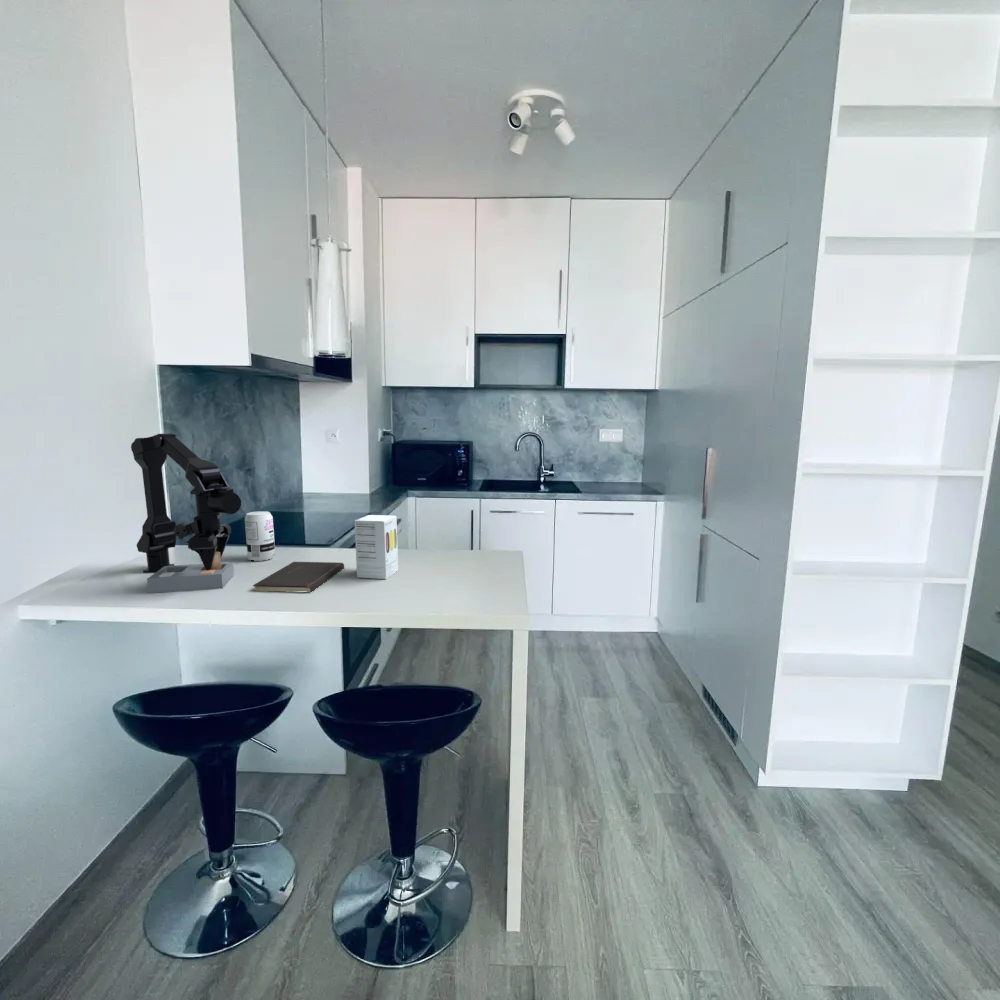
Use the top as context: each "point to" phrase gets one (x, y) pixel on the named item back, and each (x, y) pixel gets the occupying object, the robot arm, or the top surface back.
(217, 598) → the top surface
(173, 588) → the socket block
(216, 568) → the walnut peg
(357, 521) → the supplement box
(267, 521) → the supplement can
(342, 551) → the top surface
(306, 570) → the hardcover book
